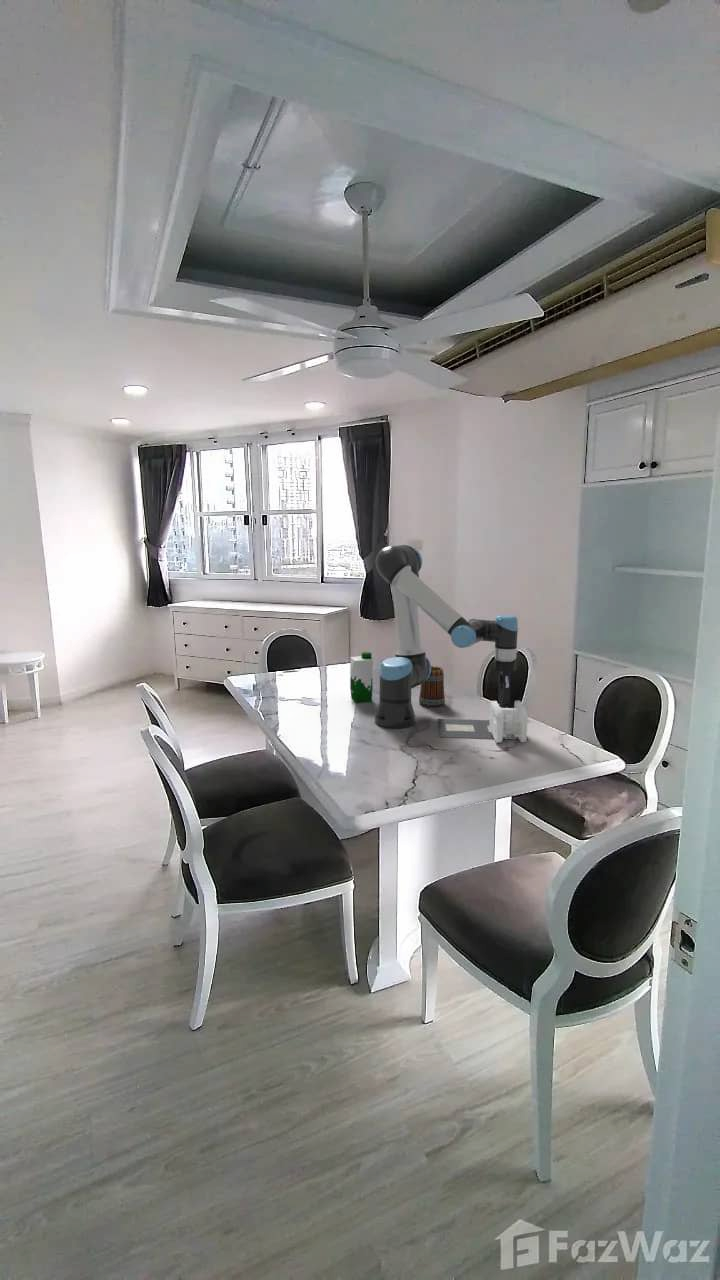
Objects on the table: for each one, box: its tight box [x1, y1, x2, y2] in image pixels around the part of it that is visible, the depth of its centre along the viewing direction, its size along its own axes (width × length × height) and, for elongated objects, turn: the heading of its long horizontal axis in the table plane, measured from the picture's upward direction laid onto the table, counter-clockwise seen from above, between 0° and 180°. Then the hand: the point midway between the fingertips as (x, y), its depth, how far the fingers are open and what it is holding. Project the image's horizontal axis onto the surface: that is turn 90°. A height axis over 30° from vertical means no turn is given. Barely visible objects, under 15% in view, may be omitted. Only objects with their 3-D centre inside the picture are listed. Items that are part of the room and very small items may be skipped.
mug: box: [418, 664, 446, 709], centre depth 249 cm, size 16×11×15 cm
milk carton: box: [349, 651, 374, 704], centre depth 251 cm, size 9×9×20 cm
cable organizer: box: [489, 700, 529, 744], centre depth 206 cm, size 15×11×12 cm
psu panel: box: [437, 718, 530, 741], centre depth 217 cm, size 30×20×1 cm, turn 85°
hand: (502, 723), depth 218 cm, fingers closed
